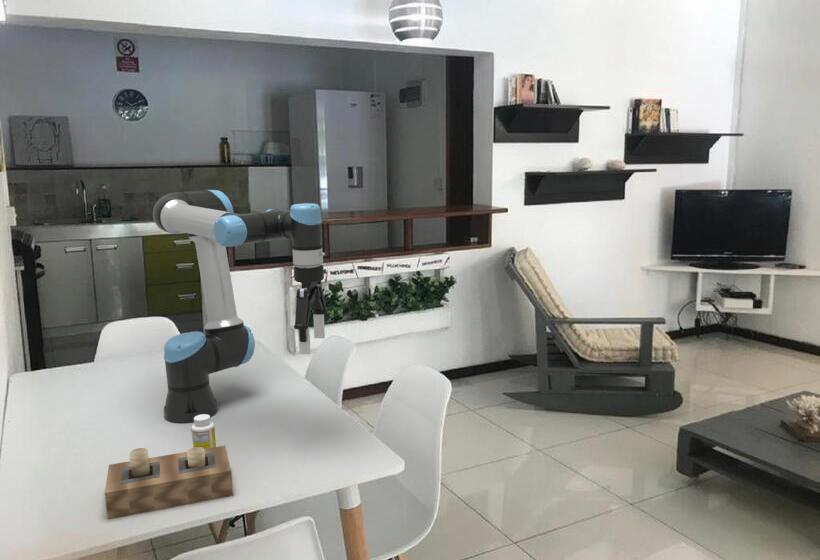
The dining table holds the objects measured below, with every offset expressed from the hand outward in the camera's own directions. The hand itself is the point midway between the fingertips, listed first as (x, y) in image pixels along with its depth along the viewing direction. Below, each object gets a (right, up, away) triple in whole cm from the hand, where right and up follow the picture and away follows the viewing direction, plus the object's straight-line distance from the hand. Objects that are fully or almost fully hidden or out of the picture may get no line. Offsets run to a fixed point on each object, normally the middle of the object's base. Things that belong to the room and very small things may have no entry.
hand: (312, 345), depth 178 cm
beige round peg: (-35, -27, -25) cm, 51 cm away
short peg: (-24, -28, -20) cm, 42 cm away
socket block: (-29, -31, -22) cm, 48 cm away
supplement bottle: (-27, -28, -3) cm, 39 cm away
